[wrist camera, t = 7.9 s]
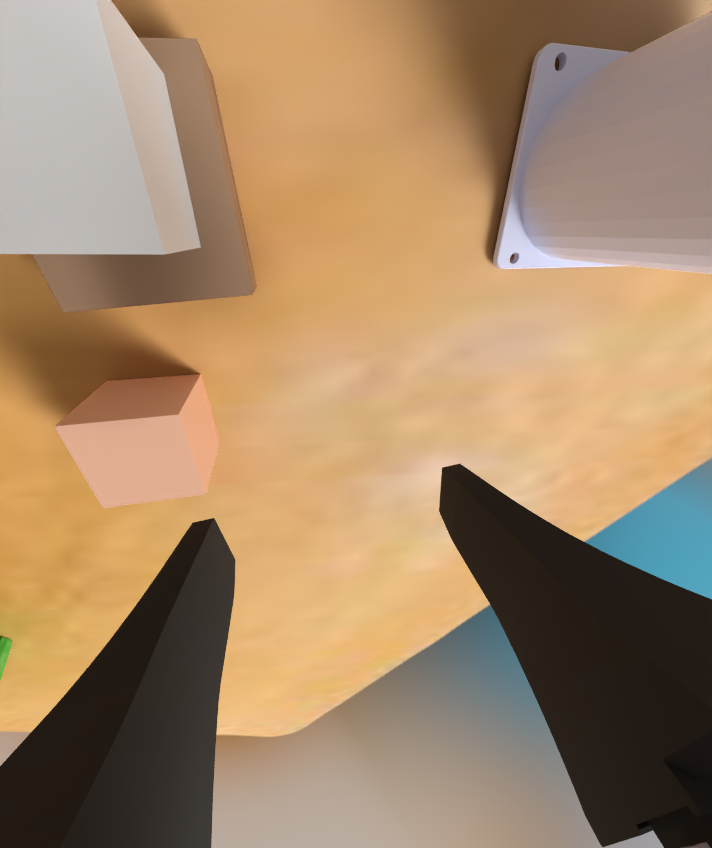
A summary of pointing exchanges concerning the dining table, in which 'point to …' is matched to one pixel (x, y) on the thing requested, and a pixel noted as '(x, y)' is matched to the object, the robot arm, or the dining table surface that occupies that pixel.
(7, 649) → the fruit basket
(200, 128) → the walnut base
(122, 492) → the terracotta block
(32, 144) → the grey block
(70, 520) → the dining table surface
